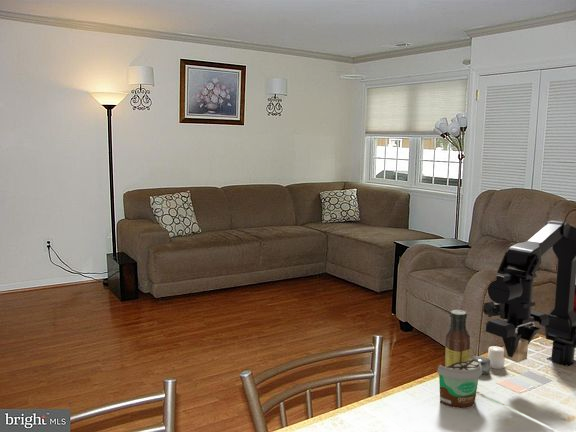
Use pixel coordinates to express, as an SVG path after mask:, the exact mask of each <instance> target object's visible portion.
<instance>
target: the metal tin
mask: <svg viewBox="0 0 576 432" xmlns="http://www.w3.org/2000/svg"><path fill="white" fill-rule="evenodd" d="M473 357H475V358H477V359H478V360H479V361H480V364H481V367H482V374H481V375H480V376H487V375H489V374H490V370H491V367H490V360H489V359H488V357H485V356H482V355H480V356H478V355H476V356H472V357H470V360H472V358H473Z"/></svg>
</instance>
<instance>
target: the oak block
mask: <svg viewBox="0 0 576 432" xmlns="http://www.w3.org/2000/svg"><path fill="white" fill-rule="evenodd" d="M503 345H504V346H503V348H504V357H505V359H507V360H510V361H513V362H514V363H519V362H523V361H526V360H527V359H528V347H529V344H528V340H525V339H522V338H520V340H519V342H518V345H517V348H516V350H515V353H514V355H513V357H509V356H508V354H507V351H506V348H505V344H504V343H503Z"/></svg>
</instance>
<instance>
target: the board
mask: <svg viewBox="0 0 576 432" xmlns="http://www.w3.org/2000/svg"><path fill="white" fill-rule="evenodd" d="M553 381H554V380H553V379H552V378H549V377H546V376H544V375H541V374H539V373H537V372H533V371H531V370H527V371H524V372H521V373H518V374H516V375H514V376H511V377H509V378H506V379H503V380H499V381H498V382H496V384H497V385H498V386H502V387H503V388H506V389H508V390H510V391H513V392H515V393H517V394H519V395H521V394H523V393H526V392H528V391H529V392H530V391H531V390H533V389H536V388H538V387H541V386H543V385H546V384H547V383H550V382H553Z"/></svg>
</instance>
